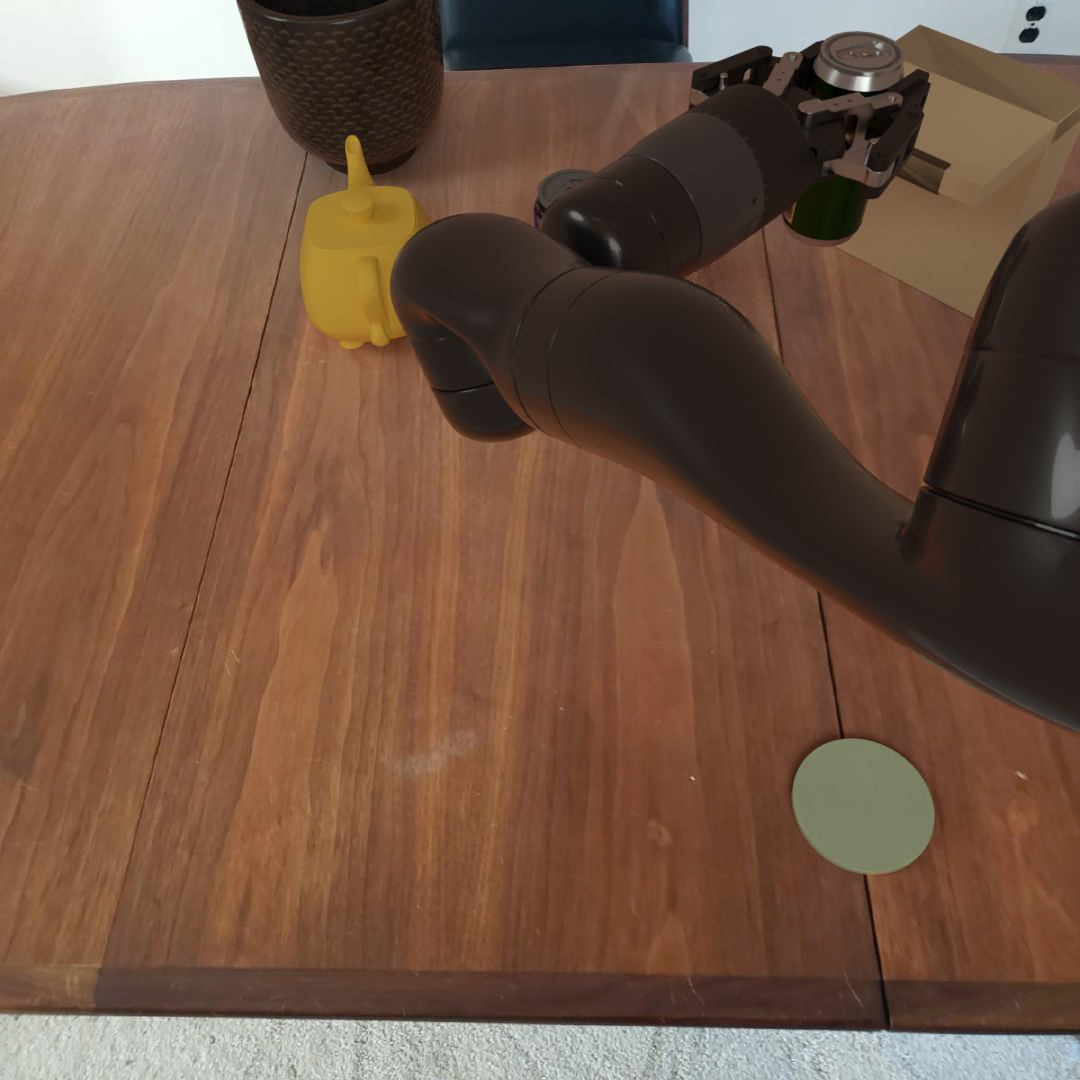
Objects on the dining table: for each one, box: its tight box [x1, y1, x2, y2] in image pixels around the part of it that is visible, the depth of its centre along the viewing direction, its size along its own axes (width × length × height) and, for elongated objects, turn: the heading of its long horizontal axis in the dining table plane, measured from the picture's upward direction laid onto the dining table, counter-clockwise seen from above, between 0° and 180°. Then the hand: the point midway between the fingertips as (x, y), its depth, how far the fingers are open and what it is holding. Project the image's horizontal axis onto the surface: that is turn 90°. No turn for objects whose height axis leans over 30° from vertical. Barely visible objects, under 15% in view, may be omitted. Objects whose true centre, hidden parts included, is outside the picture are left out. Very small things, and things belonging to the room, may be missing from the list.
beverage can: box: [532, 168, 596, 229], centre depth 89 cm, size 7×7×12 cm
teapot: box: [299, 135, 433, 350], centre depth 89 cm, size 14×20×13 cm
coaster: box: [790, 737, 936, 876], centre depth 63 cm, size 9×9×1 cm
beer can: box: [781, 30, 905, 248], centre depth 62 cm, size 5×5×12 cm
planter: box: [235, 0, 445, 176], centre depth 102 cm, size 20×20×19 cm
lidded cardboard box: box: [834, 24, 1080, 319], centre depth 85 cm, size 20×16×20 cm
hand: (877, 69), depth 60 cm, fingers closed on beer can, 5 cm apart
